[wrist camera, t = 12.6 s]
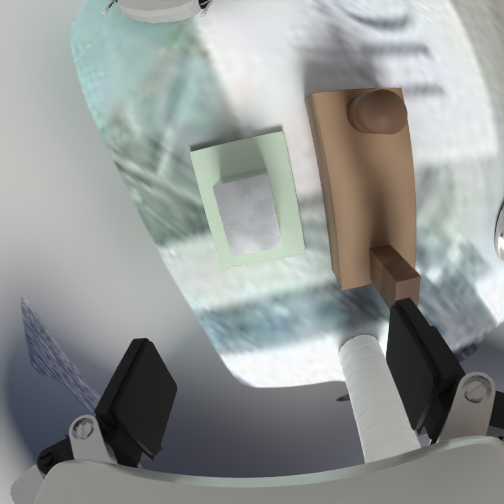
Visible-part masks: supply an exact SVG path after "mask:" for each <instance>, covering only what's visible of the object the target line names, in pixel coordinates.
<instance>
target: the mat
mask: <svg viewBox="0 0 504 504" xmlns="http://www.w3.org/2000/svg"><path fill="white" fill-rule="evenodd" d="M190 155H191V159H192V163H193V167H194V171H195V175H196V179H197V182H198V186H199V190H200V194H201V197H202V201H203V205H204V208H205V212H206V216H207V219H208V223H209V226H210V230H211V233H212V237H213V240H214V244H215V247H216V251H217V254H218V258H219V261H220V264H221V268H222V269H227V268H232V267H238V266H243V265H249V264H254V263H260V262H265V261H271V260H276V259H281V258H287V257H292V256H297V255H303V254H306V251H305V245H304V238H303V232H302V226H301V220H300V215H299V209H298V203H297V198H296V192H295V187H294V182H293V176H292V171H291V166H290V161H289V156H288V151H287V147H286V142H285V137H284V133H283V131H280V132H275V133H270V134H264V135H259V136H255V137H250V138H245V139H241V140H236V141H232V142H228V143H224V144H220V145H216V146H212V147H208V148H204V149H200V150H197V151H193V152H190ZM266 167H267V171H268V176H269V180H270V185H271V189H272V194H273V198H274V203H275V207H276V212H277V217H278V222H279V226H280V232H281V237H282V243H283V247H279V248H273V249H268V250H263V251H258V252H253V253H248V254H243V255H238V256H233V257H232V256H231V253H230V249H229V246H228V242H227V238H226V235H225V231H224V228H223V224H222V220H221V217H220V213H219V210H218V206H217V202H216V199H215V195H214V191H213V187H212V186H213V185H214V184H215V183H216V182H217V181H218V180H219V179H220V178H222V177H226V176H231V175H235V174H239V173H244V172H248V171H252V170H257V169H262V168H266Z"/></svg>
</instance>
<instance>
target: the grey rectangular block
mask: <svg viewBox="0 0 504 504" xmlns="http://www.w3.org/2000/svg"><path fill="white" fill-rule="evenodd" d="M212 187H213V191H214V195H215V199H216V202H217V206H218V210H219V213H220V217H221V220H222V224H223V228H224V231H225V235H226V238H227V242H228V246H229V249H230V253H231V256H232V257H233V256H238V255H243V254H248V253H253V252H258V251H263V250H268V249H273V248H279V247H283V243H282V237H281V232H280V226H279V222H278V217H277V212H276V207H275V203H274V198H273V194H272V189H271V185H270V180H269V176H268V171H267V167H266V168H262V169H257V170H252V171H248V172H244V173H239V174H235V175H231V176H226V177H222V178H220V179H219V180H218V181H217V182H216V183H215V184H214V185H213V186H212Z"/></svg>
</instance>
